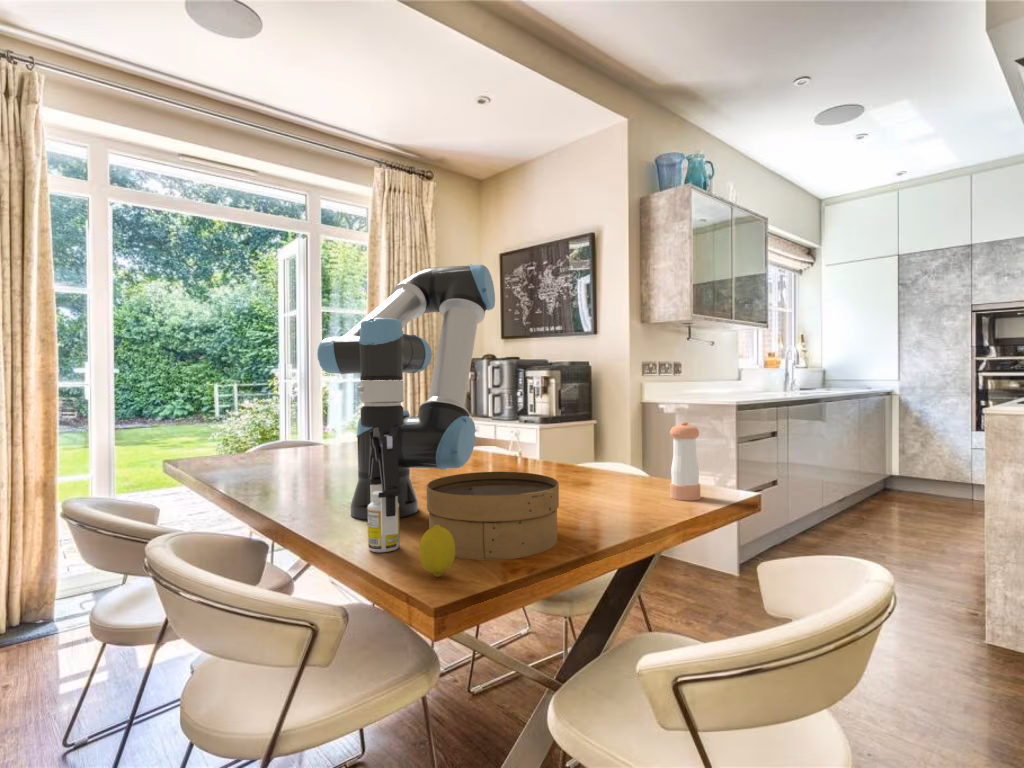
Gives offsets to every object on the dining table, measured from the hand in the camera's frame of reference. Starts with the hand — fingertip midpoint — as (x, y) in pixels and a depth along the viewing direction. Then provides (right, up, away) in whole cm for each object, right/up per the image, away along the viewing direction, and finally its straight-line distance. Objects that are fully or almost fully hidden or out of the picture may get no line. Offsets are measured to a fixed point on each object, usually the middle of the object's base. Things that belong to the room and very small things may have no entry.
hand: (383, 526), depth 98 cm
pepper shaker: (+67, -3, +39) cm, 78 cm away
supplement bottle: (0, -4, 0) cm, 4 cm away
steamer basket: (+20, -4, +5) cm, 21 cm away
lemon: (+12, -4, -15) cm, 19 cm away
